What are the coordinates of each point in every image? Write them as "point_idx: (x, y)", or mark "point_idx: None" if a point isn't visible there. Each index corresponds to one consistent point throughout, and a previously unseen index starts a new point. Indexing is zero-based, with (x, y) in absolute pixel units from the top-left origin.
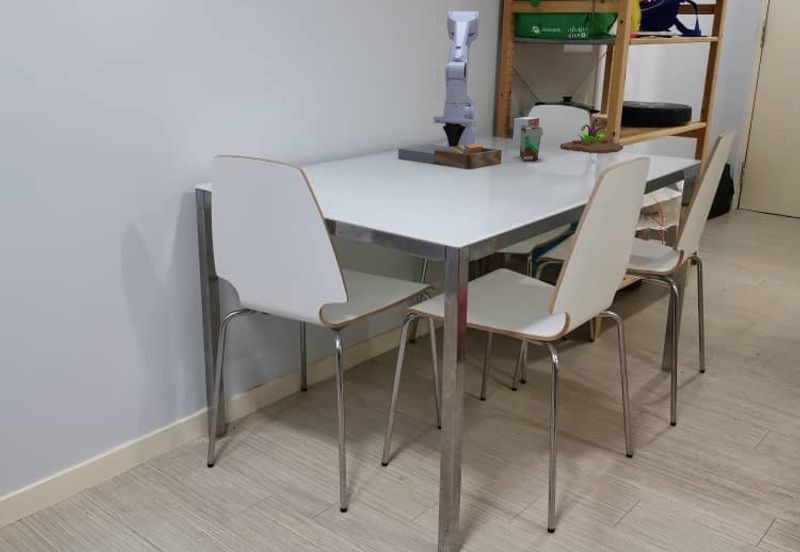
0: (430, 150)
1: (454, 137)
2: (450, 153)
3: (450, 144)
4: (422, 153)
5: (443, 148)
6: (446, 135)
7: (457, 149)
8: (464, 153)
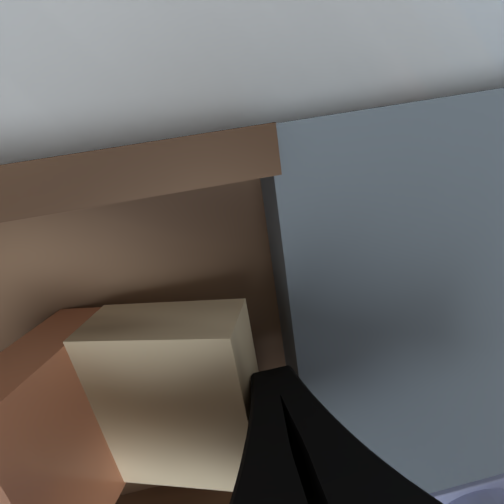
0: (438, 250)
1: (234, 491)
2: (13, 165)
3: (284, 393)
4: (417, 101)
5: (434, 408)
6: (387, 464)
7: (164, 374)
8: (39, 354)
